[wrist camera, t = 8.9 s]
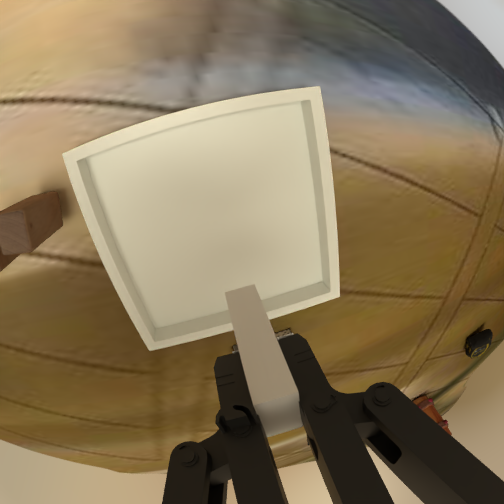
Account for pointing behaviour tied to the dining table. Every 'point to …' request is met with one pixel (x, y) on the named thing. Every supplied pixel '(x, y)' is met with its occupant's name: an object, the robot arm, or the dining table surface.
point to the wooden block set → (28, 225)
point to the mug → (431, 411)
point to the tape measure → (478, 343)
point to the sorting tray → (213, 211)
